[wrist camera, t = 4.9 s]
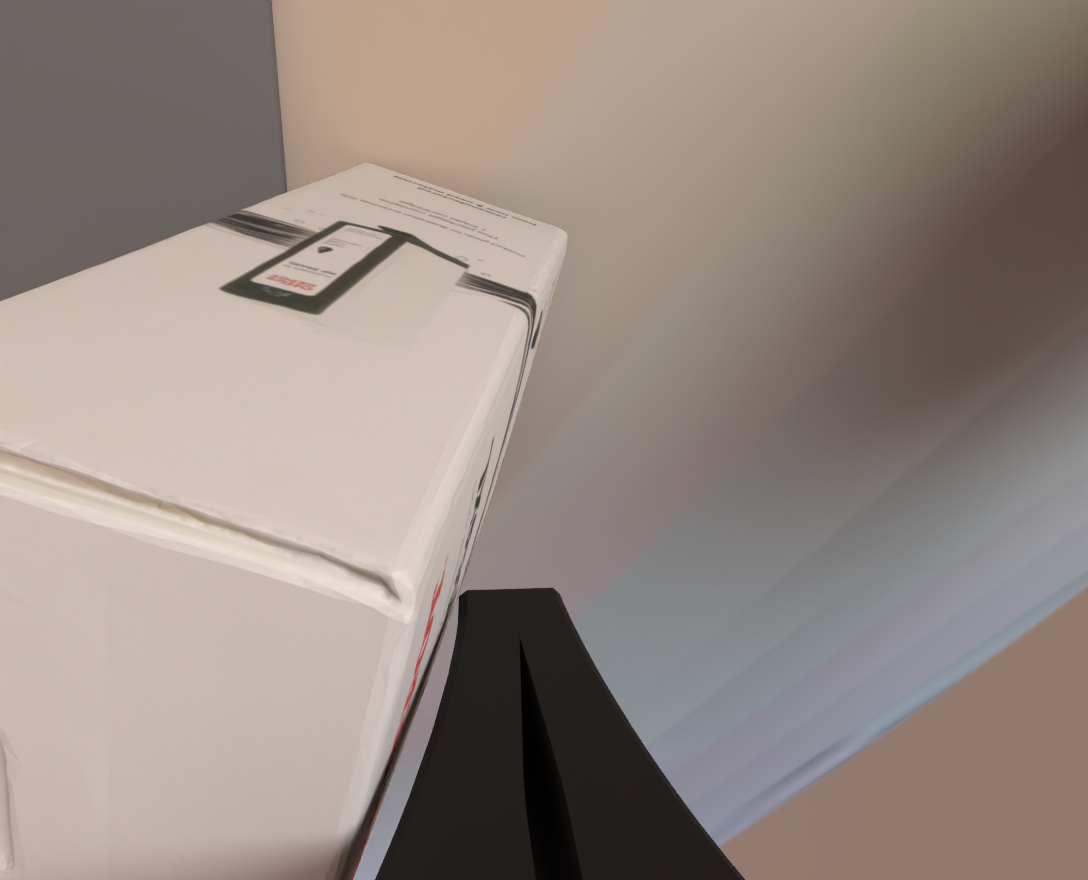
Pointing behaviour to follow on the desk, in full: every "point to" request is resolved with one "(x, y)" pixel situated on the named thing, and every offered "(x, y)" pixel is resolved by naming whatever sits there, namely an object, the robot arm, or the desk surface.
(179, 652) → the ink box
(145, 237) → the mat
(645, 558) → the desk surface
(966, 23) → the desk surface
